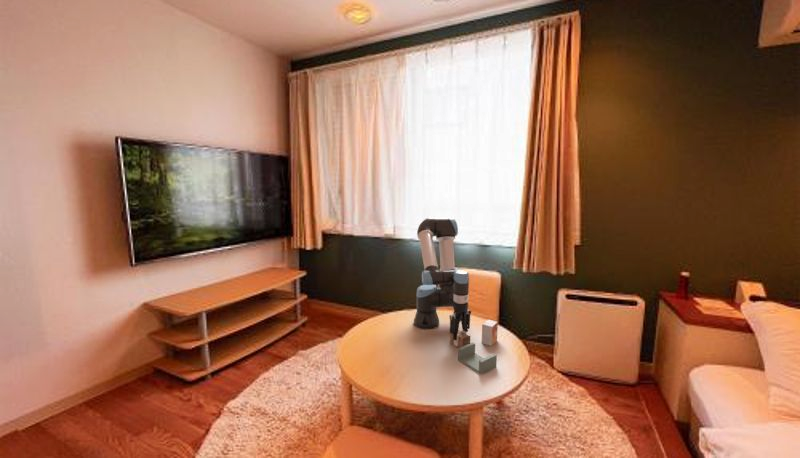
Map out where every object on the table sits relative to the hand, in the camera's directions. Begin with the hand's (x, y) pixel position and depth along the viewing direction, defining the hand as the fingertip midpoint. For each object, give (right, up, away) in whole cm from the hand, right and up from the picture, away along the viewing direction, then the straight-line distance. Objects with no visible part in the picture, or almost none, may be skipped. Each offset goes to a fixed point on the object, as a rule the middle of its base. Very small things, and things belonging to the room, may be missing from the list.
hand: (459, 343), depth 170 cm
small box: (+16, 0, +3) cm, 17 cm away
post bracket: (+5, -3, -17) cm, 18 cm away
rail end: (0, 0, 0) cm, 1 cm away
